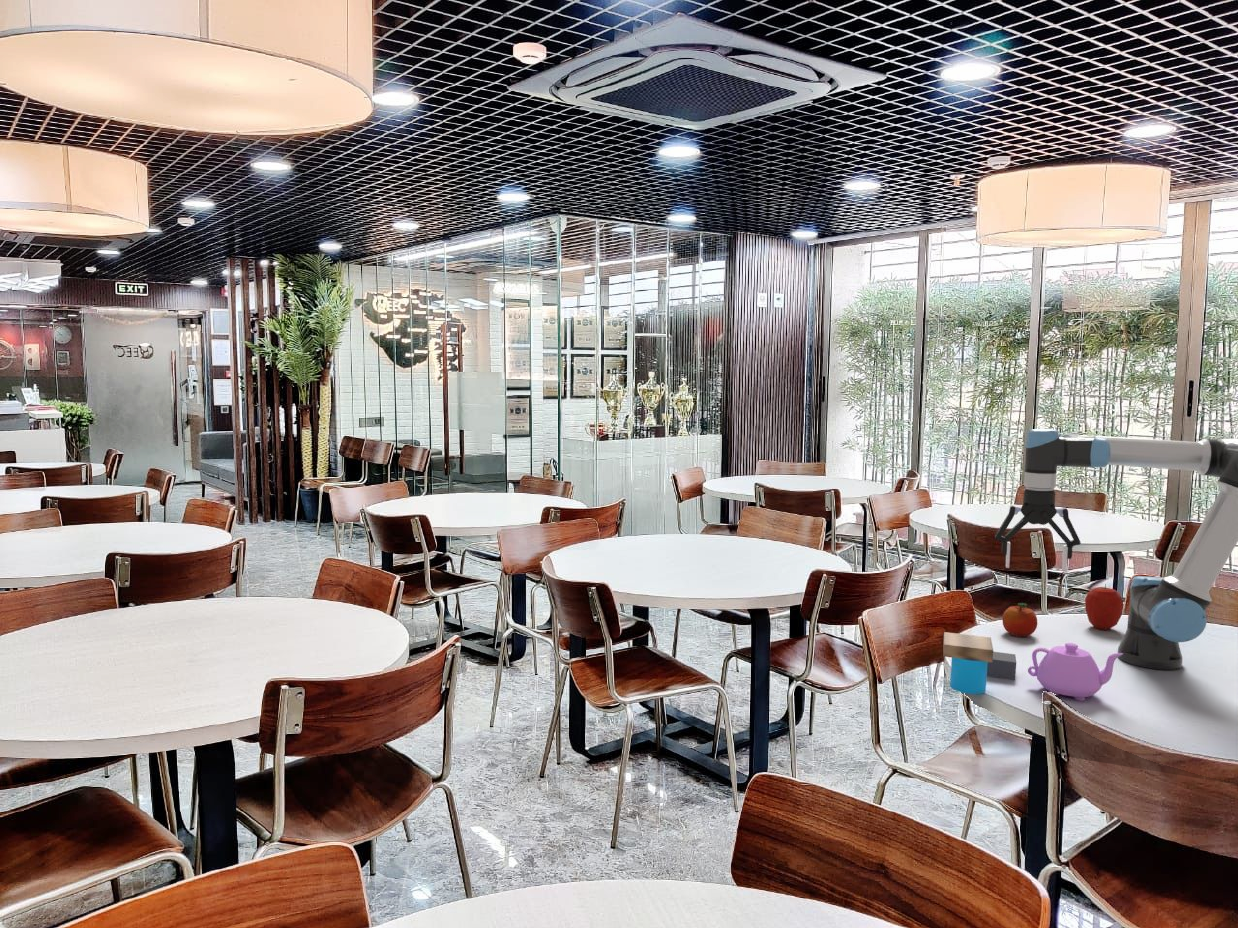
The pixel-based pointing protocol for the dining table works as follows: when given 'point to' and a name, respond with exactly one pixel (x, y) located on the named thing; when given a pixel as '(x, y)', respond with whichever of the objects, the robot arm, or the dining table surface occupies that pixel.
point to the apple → (1103, 607)
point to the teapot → (1071, 671)
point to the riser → (1002, 666)
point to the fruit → (1019, 620)
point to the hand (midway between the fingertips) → (1035, 568)
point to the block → (967, 647)
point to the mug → (968, 676)
